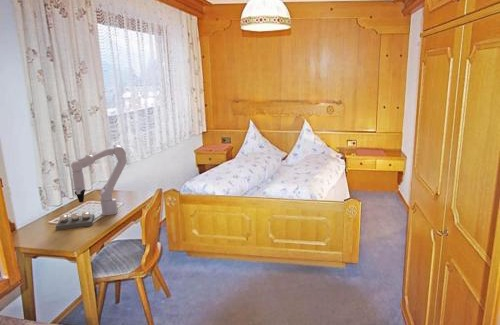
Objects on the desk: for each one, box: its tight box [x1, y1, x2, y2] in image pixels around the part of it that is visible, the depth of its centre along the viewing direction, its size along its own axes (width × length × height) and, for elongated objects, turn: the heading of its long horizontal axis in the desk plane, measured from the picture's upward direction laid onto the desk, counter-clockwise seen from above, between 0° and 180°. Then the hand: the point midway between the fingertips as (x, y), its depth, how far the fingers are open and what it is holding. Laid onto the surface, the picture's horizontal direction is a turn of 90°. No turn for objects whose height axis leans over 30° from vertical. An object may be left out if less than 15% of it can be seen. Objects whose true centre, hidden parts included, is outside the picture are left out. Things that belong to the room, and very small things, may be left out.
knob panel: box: [55, 213, 95, 231], centre depth 221 cm, size 19×12×2 cm, turn 105°
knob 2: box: [81, 211, 91, 220], centre depth 222 cm, size 4×4×6 cm
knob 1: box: [59, 214, 69, 222], centre depth 219 cm, size 4×4×6 cm
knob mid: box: [70, 212, 80, 221], centre depth 221 cm, size 4×4×6 cm
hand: (81, 202), depth 228 cm, fingers closed
